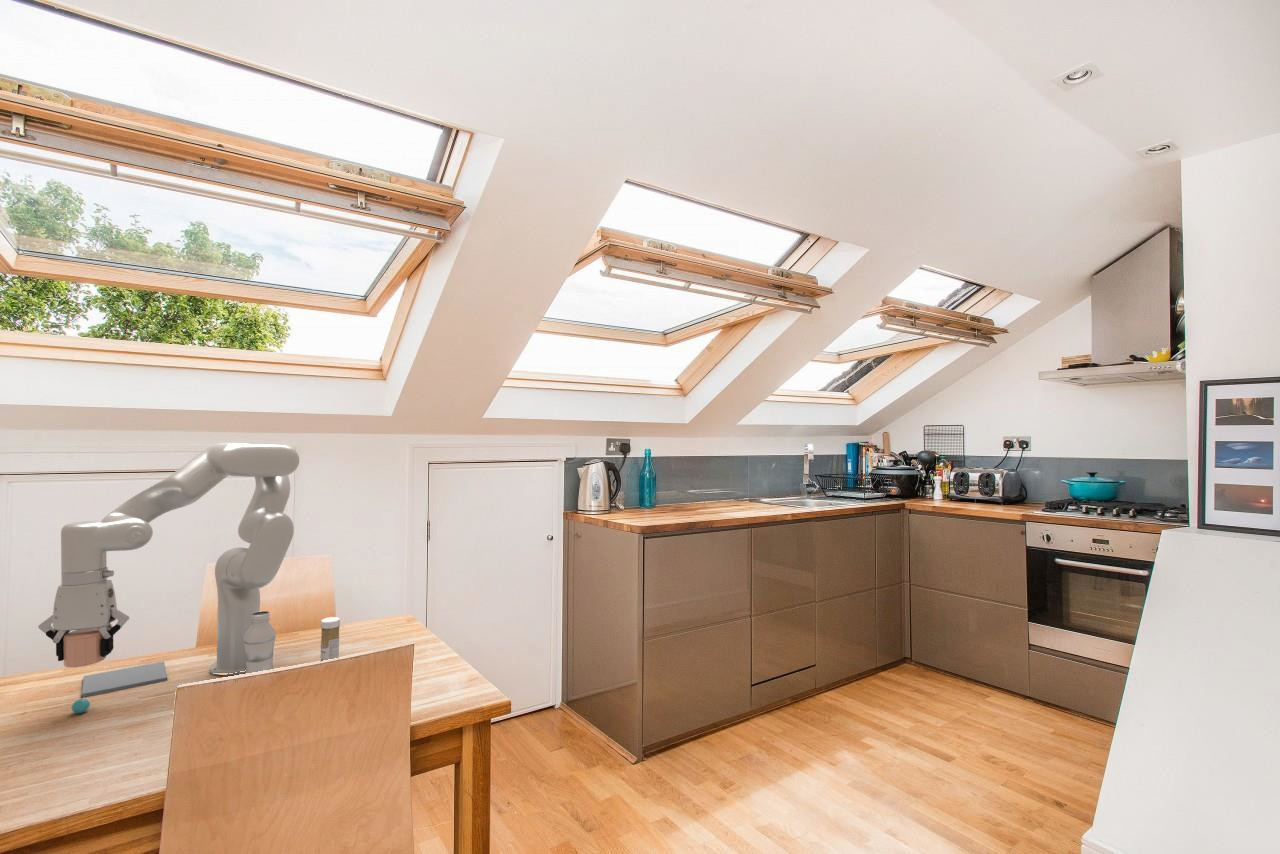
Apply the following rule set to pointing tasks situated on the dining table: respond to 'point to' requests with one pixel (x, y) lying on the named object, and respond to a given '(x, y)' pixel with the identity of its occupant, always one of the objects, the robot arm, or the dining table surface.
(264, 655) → the plastic bottle
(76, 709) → the teal ball
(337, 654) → the sprinkles bottle
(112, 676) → the slate mat
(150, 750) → the dining table surface
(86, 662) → the peach domed cylinder
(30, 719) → the dining table surface
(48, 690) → the dining table surface
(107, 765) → the dining table surface
